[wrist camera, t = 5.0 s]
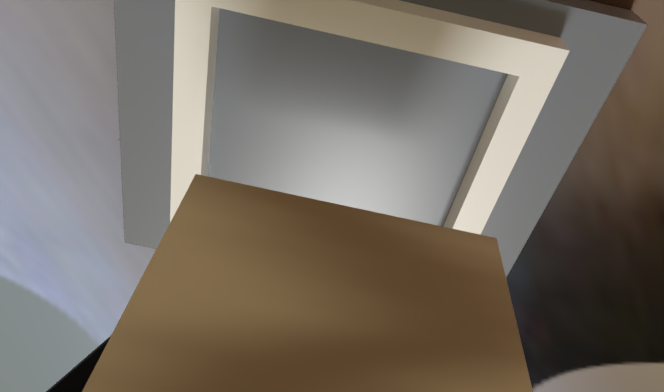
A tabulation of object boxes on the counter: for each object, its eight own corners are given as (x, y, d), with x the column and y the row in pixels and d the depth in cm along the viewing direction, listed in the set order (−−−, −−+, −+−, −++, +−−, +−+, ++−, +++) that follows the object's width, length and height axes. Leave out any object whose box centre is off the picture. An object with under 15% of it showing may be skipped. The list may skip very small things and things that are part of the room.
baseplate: (631, 10, 13) (662, 37, 11) (480, 294, 19) (487, 335, 17) (127, -109, 12) (92, -97, 11) (136, 223, 18) (114, 259, 17)
